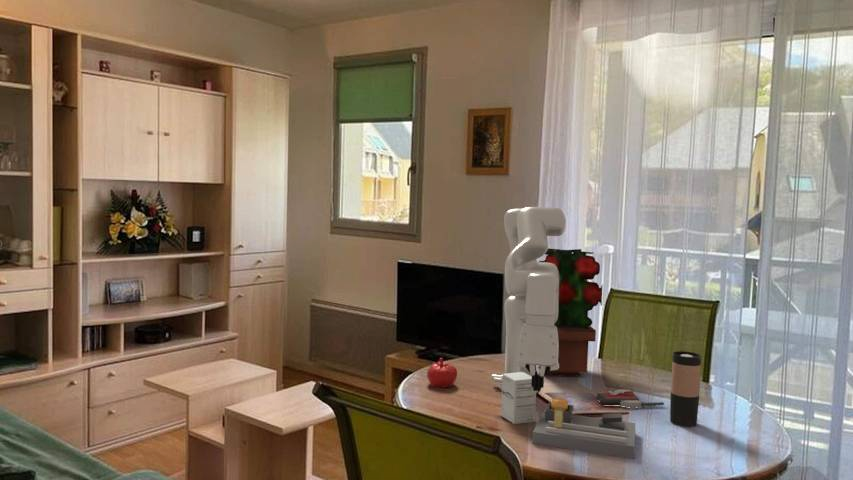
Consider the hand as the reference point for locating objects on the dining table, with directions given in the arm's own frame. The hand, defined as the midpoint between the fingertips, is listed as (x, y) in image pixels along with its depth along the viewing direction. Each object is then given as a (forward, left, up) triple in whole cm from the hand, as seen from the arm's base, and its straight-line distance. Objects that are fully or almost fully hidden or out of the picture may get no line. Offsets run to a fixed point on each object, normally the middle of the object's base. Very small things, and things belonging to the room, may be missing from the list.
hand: (537, 389), depth 169 cm
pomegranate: (-37, +36, -13) cm, 53 cm away
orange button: (+5, +10, -8) cm, 13 cm away
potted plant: (-2, +71, -13) cm, 72 cm away
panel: (+12, +5, -13) cm, 19 cm away
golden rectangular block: (+6, +1, -10) cm, 11 cm away
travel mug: (+38, +29, -13) cm, 49 cm away
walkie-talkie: (+22, +41, -14) cm, 49 cm away
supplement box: (-7, +13, -13) cm, 20 cm away
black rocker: (+19, +10, -8) cm, 23 cm away
